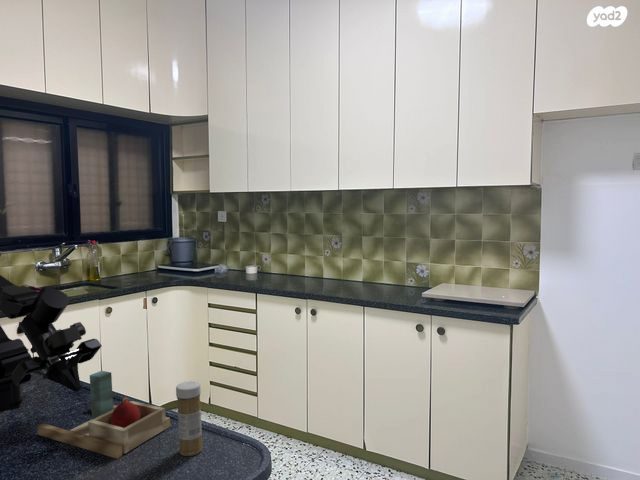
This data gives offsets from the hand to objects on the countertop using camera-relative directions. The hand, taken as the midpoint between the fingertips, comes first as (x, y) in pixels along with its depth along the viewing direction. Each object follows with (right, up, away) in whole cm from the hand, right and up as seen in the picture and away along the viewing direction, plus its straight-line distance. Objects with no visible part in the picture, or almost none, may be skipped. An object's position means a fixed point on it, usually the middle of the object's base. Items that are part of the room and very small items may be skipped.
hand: (78, 390), depth 104 cm
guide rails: (+7, -8, -3) cm, 11 cm away
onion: (+13, -8, -5) cm, 16 cm away
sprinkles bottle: (+28, -8, -12) cm, 32 cm away
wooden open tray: (+11, -8, -4) cm, 14 cm away
